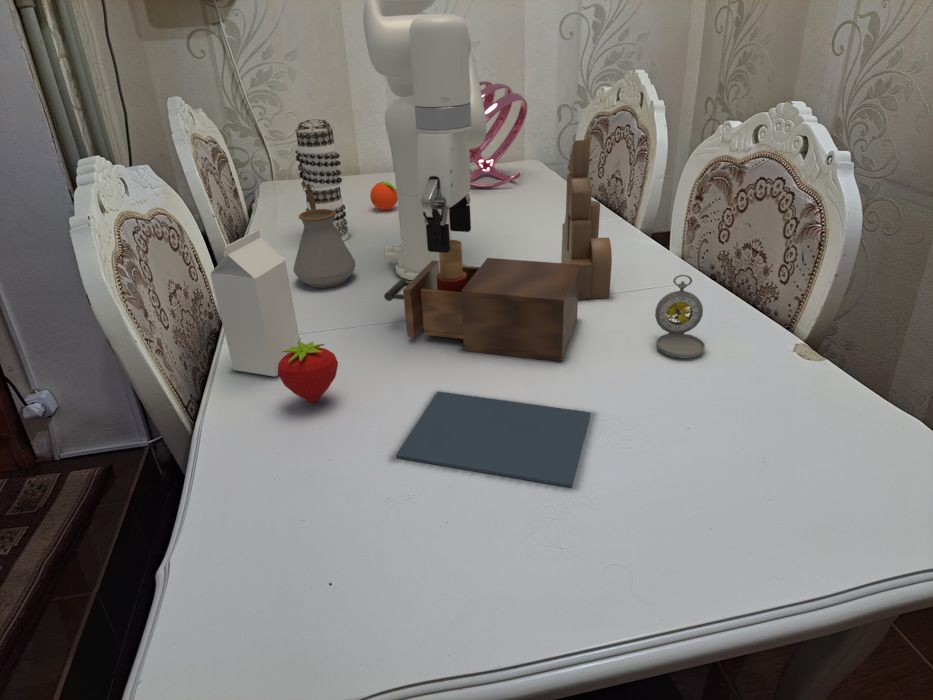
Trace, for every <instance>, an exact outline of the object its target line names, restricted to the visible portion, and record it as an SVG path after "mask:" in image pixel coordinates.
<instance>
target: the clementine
mask: <svg viewBox="0 0 933 700" xmlns="http://www.w3.org/2000/svg"><path fill="white" fill-rule="evenodd" d="M369 196H370V197H369V198H370V201H371V203H372V205H373V206H374V207H375V208H376V209H378V210H381V211H388V210H391V209H393V208H394V207H395V206H396V204H398V200H397V189H396V186H394V185H393V183H390V182H388V181H380V182H377V183H376V184H375V185H373V187H372V188H371V190H370V193H369Z"/></svg>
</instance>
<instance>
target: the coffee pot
mask: <svg viewBox="0 0 933 700" xmlns="http://www.w3.org/2000/svg"><path fill="white" fill-rule="evenodd" d="M305 186H306V188H307V190H306V191H305V189H304V187H305ZM305 186H304V187H302V190H303V191H304V192H307V194H308V201H309V204H310V207H311V210H309V211H306V210H305V211H303V212H301V213H299V214H298V219H299V220H301V222H302V224H303V230H302V234H301V237H300V243H299V246H298V250H297V253H296V257H295V261H294V265H293V269H292V270H293V273H294V274H295V276H296V277H297V278H298V279H299V280H300V281H301V282H303V283H305V284H306V285H307V286H309V287H311V288H317V289H324V288H332V287H333V288H334V287H336V286H339V285H342V284H343V283H345V282H346V281H347V280H348V278H350V276H351V275H352V274H353V272H354V271H355V269H356V260H355V259H354V257H353V255H352V253H351V252H350V250H349V248H348V247H347V245H346V243H345V241H344V240H342V238H341V237H340V235H339V233H338V232H337V230H336V228H335V227H334V225H333V220H334V217H335V215H336V213H337V212H336V211H333V210H329V209H316V205H315V198H314V196H313V194H312V193H313V191H314V190H312V189H311V186H313V185H309V184H307V185H305ZM313 187H314V186H313ZM314 189H315V187H314Z"/></svg>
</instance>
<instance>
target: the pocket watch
mask: <svg viewBox="0 0 933 700" xmlns="http://www.w3.org/2000/svg"><path fill="white" fill-rule="evenodd" d="M681 277H685V278H688V280H689V282H688V283H686V282H685V281H683V280H682V281H680V283H679V284H678V283H677V281H676V280H677V279H678V278H681ZM672 282H673V284H674V285H676V286H677V288H679V290H675V291H672V292H669V293H667V294H666V295H664V296H663V297H662V298H661V299H660V300H659V301H658V303H657V304H656V307H655V314H654V317H655V320H656V323H657V325H658V326H659V327H660V328H661V329H662V330H663V331H665V332H666V334H665V333H664V334H662V335H660V336H659V337H657V339H656V348H657V349H658V350H659V351H660V352H661V353H663V354H664V355H667V356H670V357H675V358H679V359H680V358H681V359H687V358H688V359H690V358H696V357H698V356H700V355H702V354H703V353H704V351H705V348H706V345H705V342H704V341H703V340H702V339H701V338H698V337H697V336H694V335H691V334H687V332H689V331H692V330H693V329H694V328H696V327H697V326H698V325H699V323H700V322H701V320H702V318H703V314H704V308H703V303H702V302H701V300H700V299H699V297H697V296H696V295H695V294H694V293H692V292H689V291H685V289H686V288H687V287H688V286H690V285H691V284H692V283H693V279H692V277H691V276H689V275H686V274H679V275H677V276H675V277H674V278H673V280H672ZM688 314H689V315H688ZM687 315H688V316H687Z"/></svg>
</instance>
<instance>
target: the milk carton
mask: <svg viewBox="0 0 933 700" xmlns="http://www.w3.org/2000/svg"><path fill="white" fill-rule="evenodd" d="M224 249H225V250H224V251H223V252H222V255H223V256H224V257H223V258H222V259H221V261H220V262H219V263H218V264H217V265H216V266H215V267H214V269H213V270H212V271H211V272H210V278H211V283H212V286H213V290H214V294H215V299H216V303H217V307H218V311H219V315H220V319H221V324H222V328H223V332H224V336H225V340H226V343H227V348H228V352H229V357H230V360H231V364H232V369H233V371H237V372H243V373H249V374H256V375H262V376H269V377H273V378H274V377H275V378H276V377H277V376H279V375H278V363H279V362H280V361H281V359H282V358H283V357H284V356H285V355H286V354H288V353H290V352H282V351H283V350H288V349H290V347H298V342H299V339H300V338H301V337H300V333H299V329H298V328H299V327H298V323H297V322H298V321H297V317H296V310H295V306H294V301H293V295H292V290H291V285H290V284H291V283H290V278H289V273H288V268H287V262H286V258H284V256H283V255H281V254H280V253H278V251H276V250H275V249H274V248H273V247H272V246H271V245H269V244H268V243H267V242H266V241H265V240H264V239H263V238H262V237H261V234H260V230H259V229H257V230H255V231H253V232H251V233H249V234H247V235H245V236H243V237H240V238H239V239H237V240H235V241H233V242H231V243H229V244H227V245H225V246H224ZM300 340H301V339H300Z"/></svg>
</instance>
